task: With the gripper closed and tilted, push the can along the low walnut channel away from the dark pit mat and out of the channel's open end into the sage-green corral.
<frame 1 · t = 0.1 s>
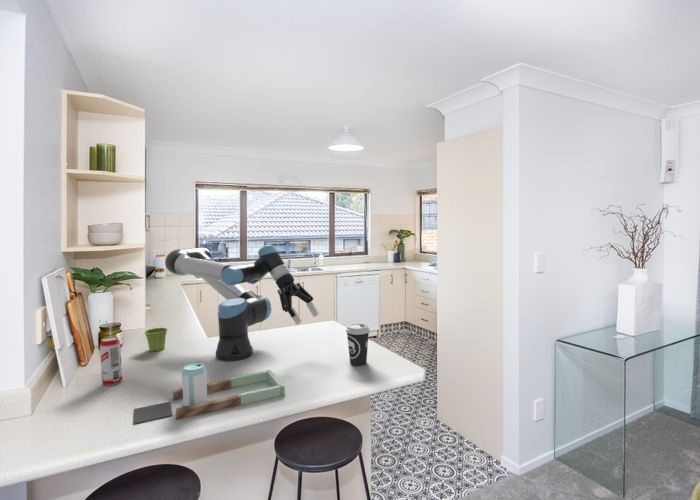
hand: (308, 319, 165), 15 cm above the counter, tool tilted 35°, fingers open, 13 cm apart
channel: (205, 401, 125), on the counter
pit mat: (152, 412, 118), on the counter
plant pot: (157, 349, 177), on the counter
coffee cup: (358, 363, 156), on the counter
corral: (255, 390, 132), on the counter
can: (195, 404, 123), on the counter
beer can: (112, 383, 140), on the counter
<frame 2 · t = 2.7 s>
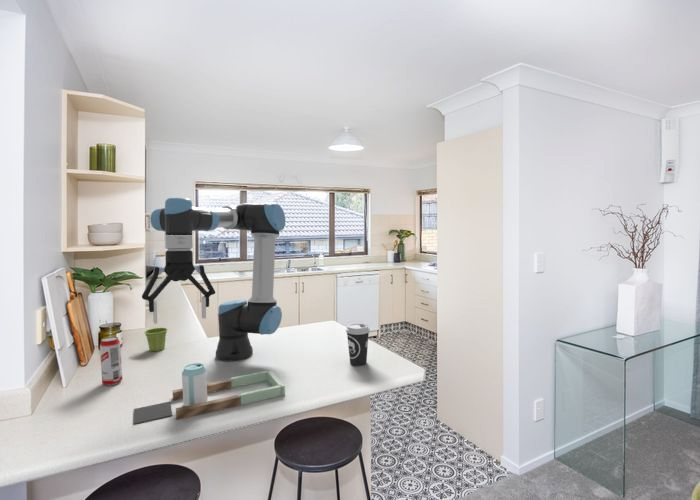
hand: (180, 320, 119), 27 cm above the counter, tool pointing down, fingers open, 13 cm apart
nothing on the counter moved.
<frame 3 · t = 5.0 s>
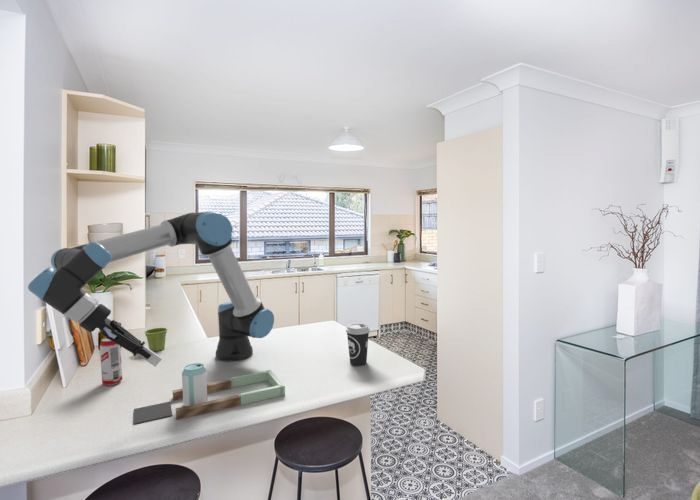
hand: (158, 362, 117), 15 cm above the counter, tool tilted 45°, fingers closed
nothing on the counter moved.
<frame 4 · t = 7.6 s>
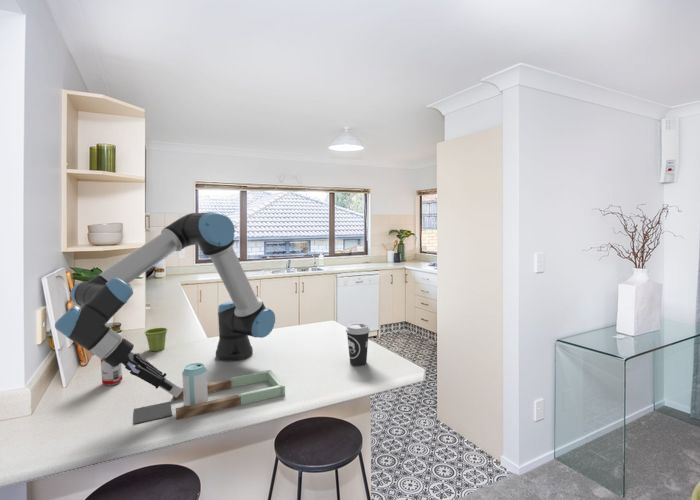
hand: (179, 393, 120), 5 cm above the counter, tool tilted 45°, fingers closed
can: (196, 404, 123), on the counter, touching gripper
everything else where it was.
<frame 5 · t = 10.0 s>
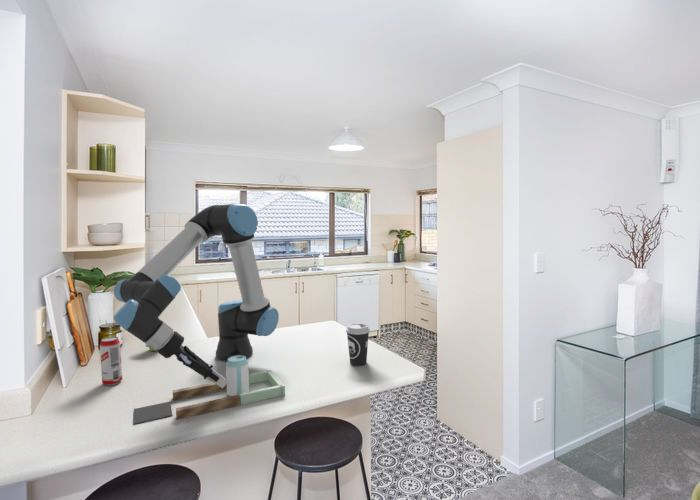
hand: (225, 384, 126), 5 cm above the counter, tool tilted 45°, fingers closed
can: (238, 394, 130), on the counter, touching gripper
everything else where it was.
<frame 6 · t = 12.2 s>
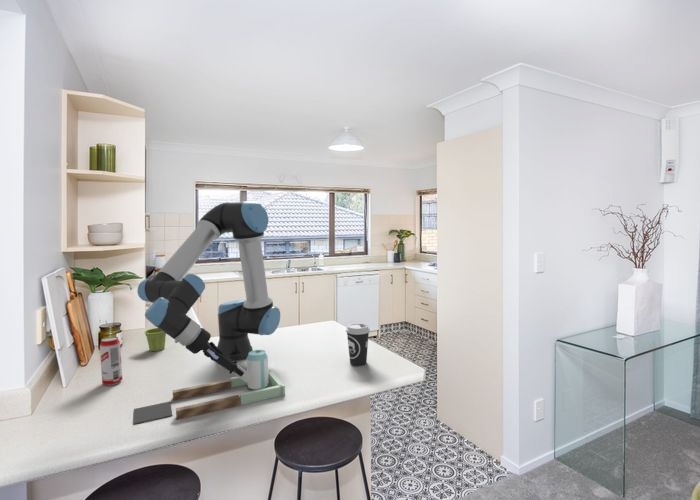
hand: (248, 378, 130), 5 cm above the counter, tool tilted 45°, fingers closed
can: (258, 387, 135), on the counter, touching gripper
everything else where it was.
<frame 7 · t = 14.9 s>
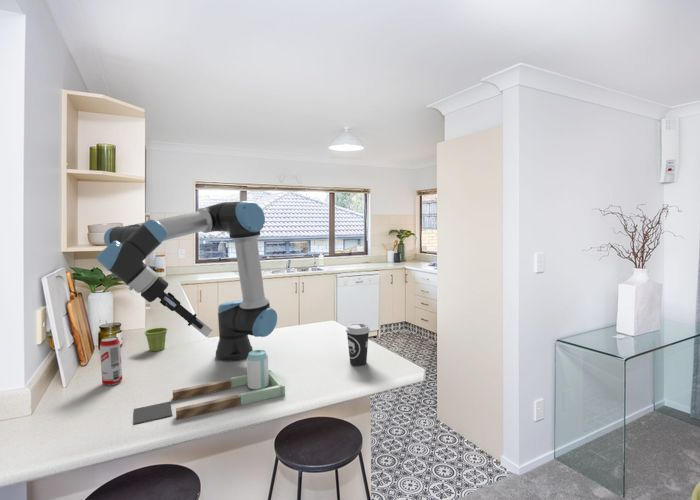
hand: (208, 333, 126), 21 cm above the counter, tool tilted 45°, fingers closed
can: (258, 387, 135), on the counter
everything else where it was.
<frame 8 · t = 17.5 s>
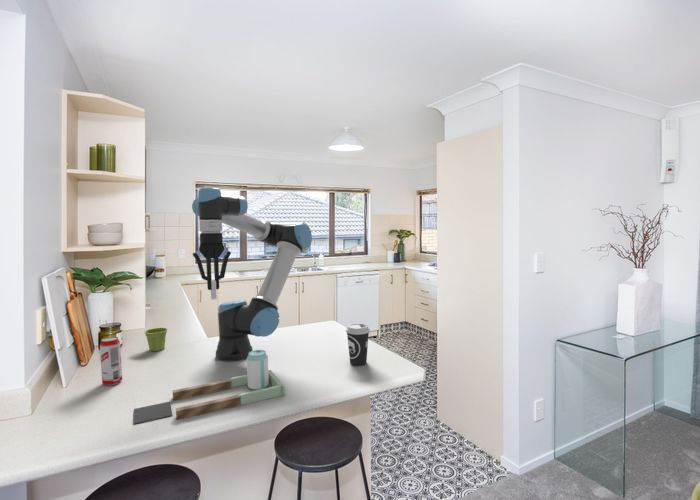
hand: (213, 298, 140), 29 cm above the counter, tool pointing down, fingers closed
nothing on the counter moved.
at the end: can inside the target area on the corral (3.3 cm from its centre), point 0.0 cm above the corral's base; can tilted 0° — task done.
